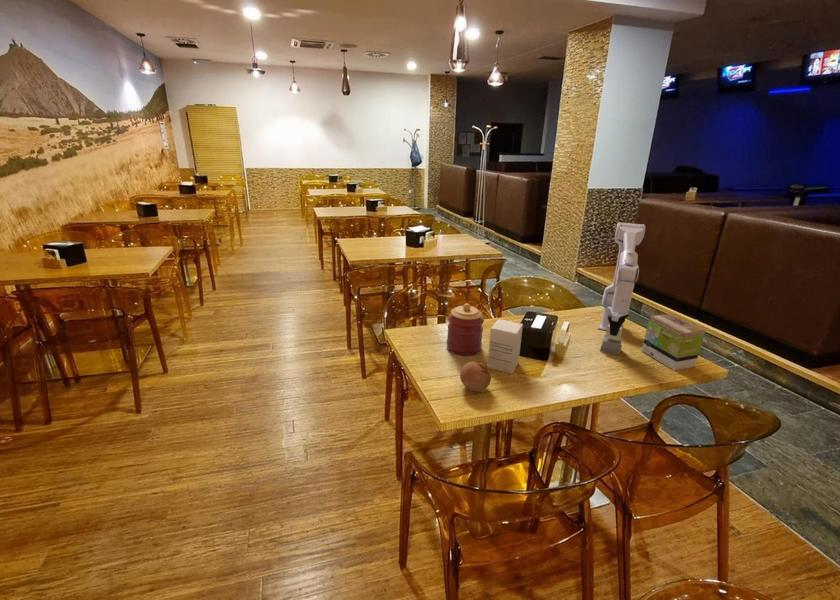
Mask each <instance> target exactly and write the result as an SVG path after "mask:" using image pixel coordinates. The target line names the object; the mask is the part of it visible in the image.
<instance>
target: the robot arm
mask: <svg viewBox="0 0 840 600" xmlns="http://www.w3.org/2000/svg"><path fill="white" fill-rule="evenodd" d="M645 233H646V225H645V224H644V223H642V224H639V223H630V222H619V221H618V222H617V224H616V228H615V234H614V243H615V244H618V255H617V261H616V266H615V271H614V276H613V280H612V281H613V282H612V284H610V285H608V286H606V287H605V288H604V292H603V294H602V299H601V306H603V307H604V308H603V313H602V318H601V323H600V324H599V325H598V326H597V329H599V330H604V331H606V332H607V327H608V325H609V324H610V335H613V336H617V334H618V332H619V329H620V327H621V325H624V323H625V321H626V320H627V318H628V317H629V314H630V311H629V310H630V305H631V301H632V297H633V293H634V292H633V291H634V288H635V284H636V283H637V281H638V280H639V279H638V278H639V273H640V268H639V264H638V257H639V254H638V253H637V252H636V251H635V250H636V246H639V245H640V244H641V243H642V241H643V239H644V237H645Z"/></svg>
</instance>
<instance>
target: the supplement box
mask: <svg viewBox="0 0 840 600" xmlns="http://www.w3.org/2000/svg"><path fill="white" fill-rule="evenodd" d="M523 328H524V324H523V323H519V322H514V321H509V320H505V319H501V318H499V319H498V318H497V320H496V322H495V323H494V324H493V325H492V326H491V328H490V332H489V333H490V334H489V346H488V353H487V354H488V355H487V356H488V357H487V365H486V366H487V368H488V369H492V370H495V371H499V372H503V373H507V374H513V373H514V371H515V370H516V368H517V366H518V364H519V361H520V352H521V344H522V336H523V335H522V334H523Z"/></svg>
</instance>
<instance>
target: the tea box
mask: <svg viewBox="0 0 840 600" xmlns="http://www.w3.org/2000/svg"><path fill="white" fill-rule="evenodd" d="M705 334H706V329H704V328H702V327H699V326H698V325H695V324H693V323H690V322H689V321H686V320H684V319H682V318H680V317H679V316H676V315H674V314H671V313H666V314H659V315H651V316H649V319H648V322H647V326H646V331H645V334H644V338H643V343H642V348H641V352H643V353H645V354H646V355H648V356H650V357H651V358H653V359H655V360H656V361H658V362H659V363H661V364H662V365H664V366H666V367H668V369H671V370H672V371H680V370H684V369H690V368H695V367H696V364H697V360H698V357H699V353H700V350H701V347H702V344H703V341H704V338H705Z"/></svg>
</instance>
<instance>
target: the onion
mask: <svg viewBox="0 0 840 600" xmlns="http://www.w3.org/2000/svg"><path fill="white" fill-rule="evenodd" d="M459 377H460V381H461V383H462V384H463V386H464V387H465V389H466V390H468V391H470V392H473V393H474V394H476V393H481V392H482V391H484V390H485V389H487V388H488V387H489V385H490V383H491V380H492V373H491V371H490V368H487V365H486V364H485V363H483V362H479V361H473V360H471V361H468V362H466V363H465V364H464V365H463V366H462V367H461V370H460V373H459Z"/></svg>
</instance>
